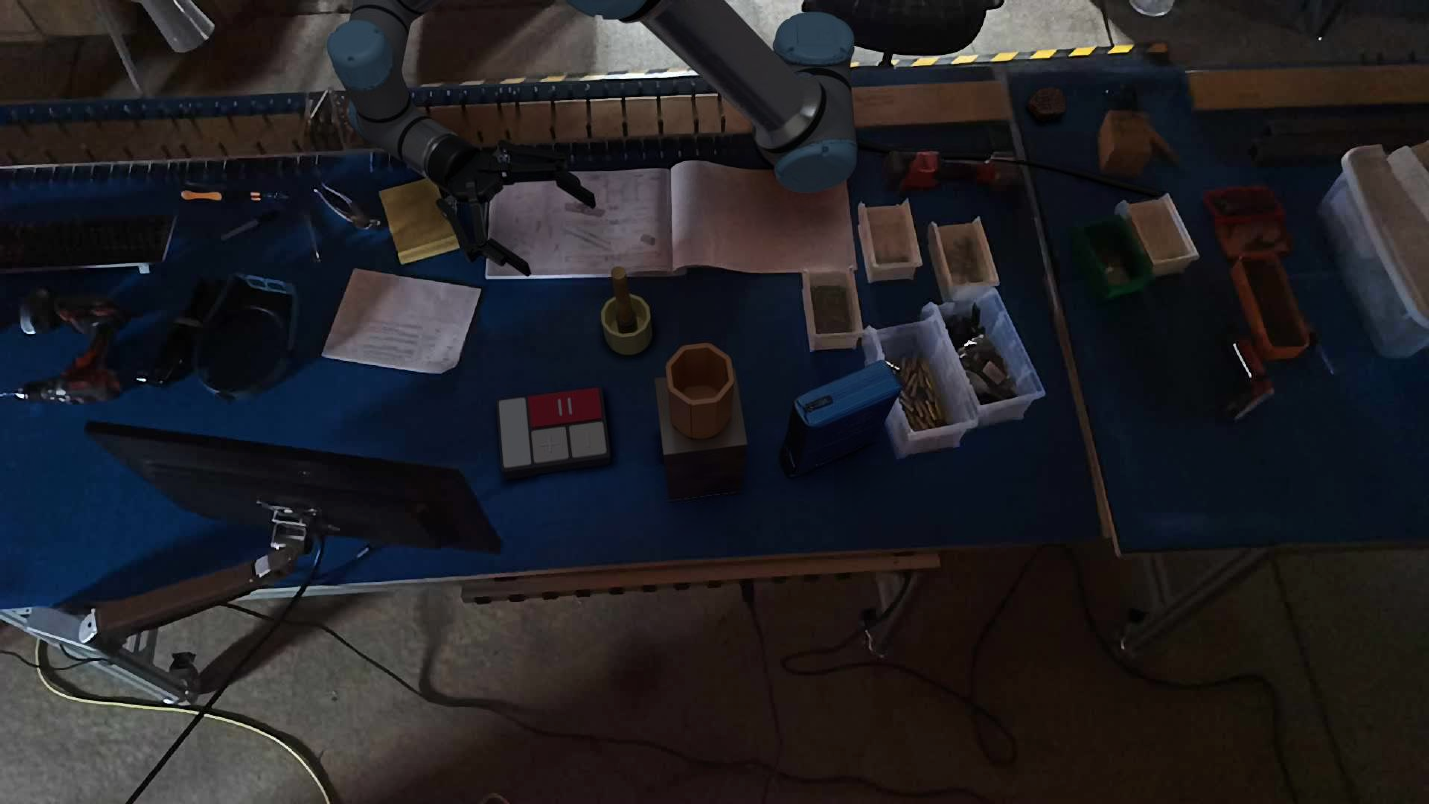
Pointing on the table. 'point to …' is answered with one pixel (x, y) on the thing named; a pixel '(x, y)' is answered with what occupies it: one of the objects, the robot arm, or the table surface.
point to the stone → (1047, 104)
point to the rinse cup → (629, 341)
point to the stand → (702, 453)
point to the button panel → (552, 432)
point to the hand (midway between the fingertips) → (561, 235)
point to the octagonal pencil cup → (700, 390)
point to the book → (838, 418)
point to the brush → (623, 302)
